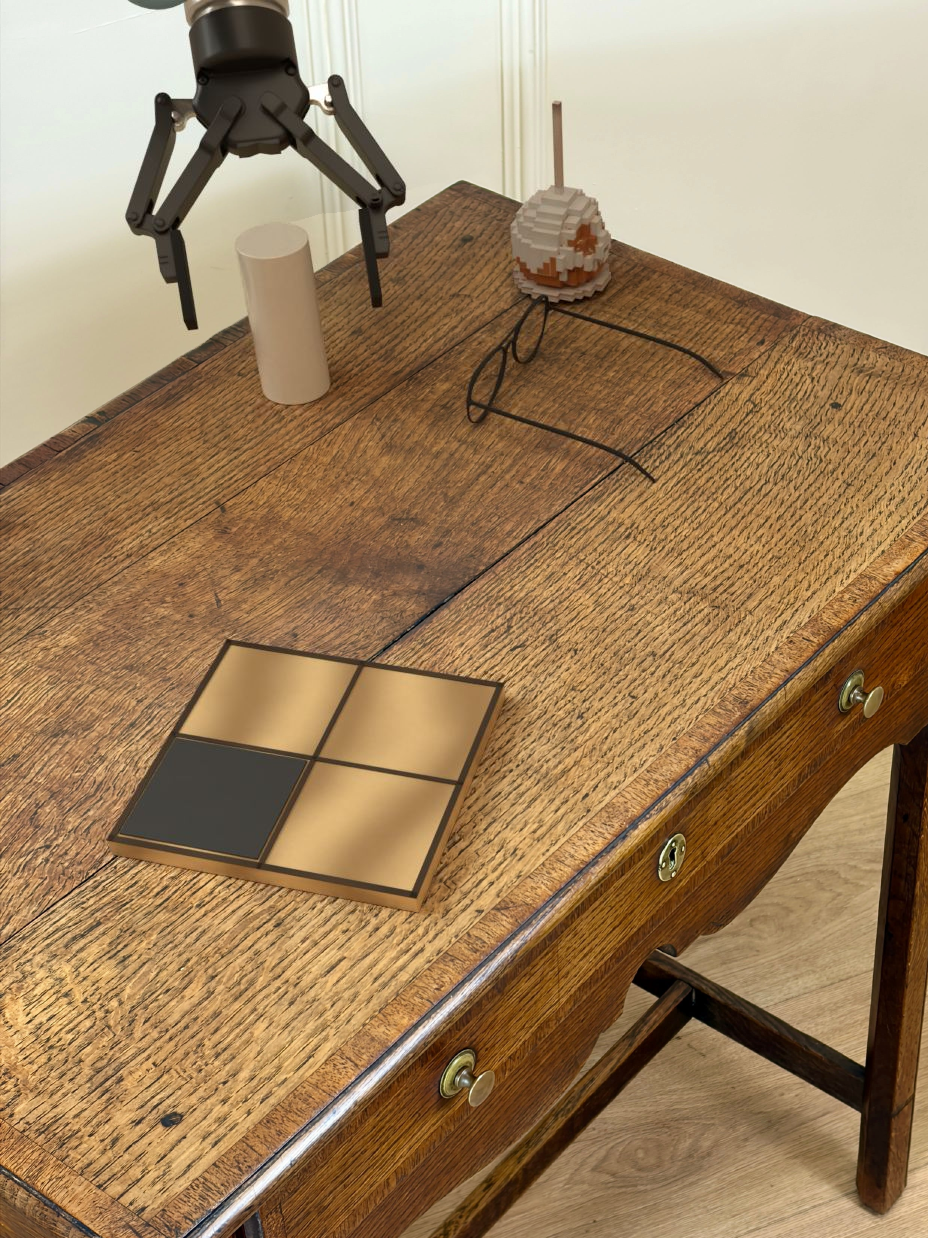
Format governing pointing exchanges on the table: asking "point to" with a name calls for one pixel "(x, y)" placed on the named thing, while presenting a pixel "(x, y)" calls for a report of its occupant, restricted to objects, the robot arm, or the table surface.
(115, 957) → the table surface
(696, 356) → the glasses
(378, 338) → the table surface
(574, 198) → the caramel apple
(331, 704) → the board
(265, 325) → the cream cylinder
